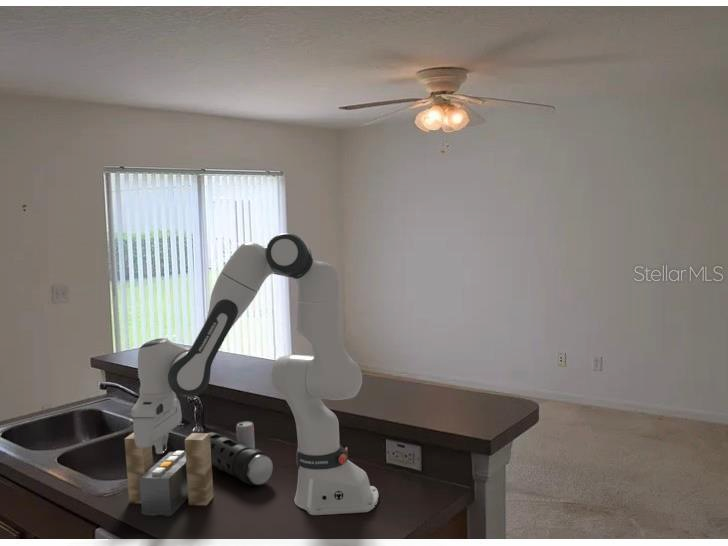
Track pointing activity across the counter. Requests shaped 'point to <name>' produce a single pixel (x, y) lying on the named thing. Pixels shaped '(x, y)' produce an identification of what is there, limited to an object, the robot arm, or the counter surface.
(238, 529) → the counter surface
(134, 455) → the oak post
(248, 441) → the energy drink
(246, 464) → the muzzle brake
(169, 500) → the button box
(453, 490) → the counter surface
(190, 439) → the oak post
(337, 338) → the robot arm
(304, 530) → the counter surface
